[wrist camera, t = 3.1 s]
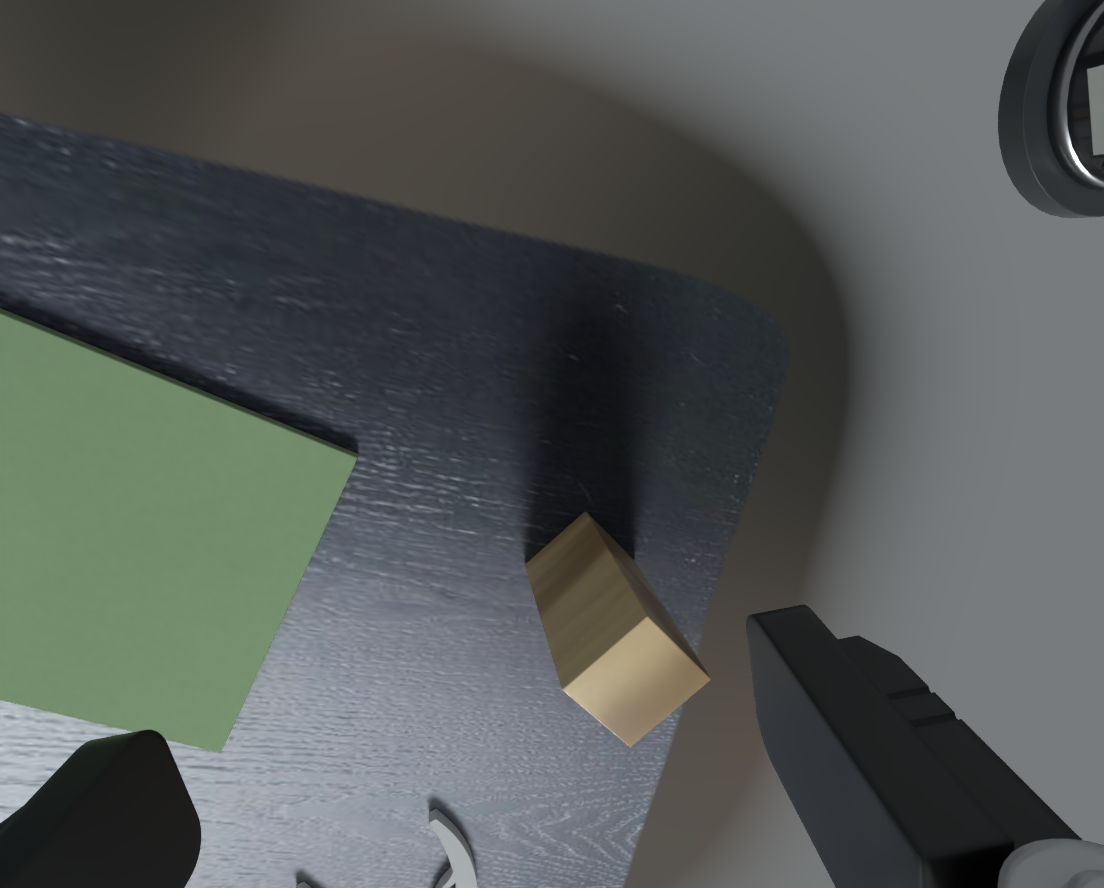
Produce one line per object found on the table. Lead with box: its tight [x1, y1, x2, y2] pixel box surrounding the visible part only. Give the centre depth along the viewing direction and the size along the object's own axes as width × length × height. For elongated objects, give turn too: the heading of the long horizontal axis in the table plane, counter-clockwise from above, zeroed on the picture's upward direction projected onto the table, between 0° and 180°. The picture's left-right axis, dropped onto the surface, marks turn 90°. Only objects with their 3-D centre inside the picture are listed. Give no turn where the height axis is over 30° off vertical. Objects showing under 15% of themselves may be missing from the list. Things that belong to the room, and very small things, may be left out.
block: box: [525, 511, 711, 747], centre depth 29 cm, size 4×4×10 cm
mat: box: [0, 308, 358, 752], centre depth 28 cm, size 18×20×1 cm
